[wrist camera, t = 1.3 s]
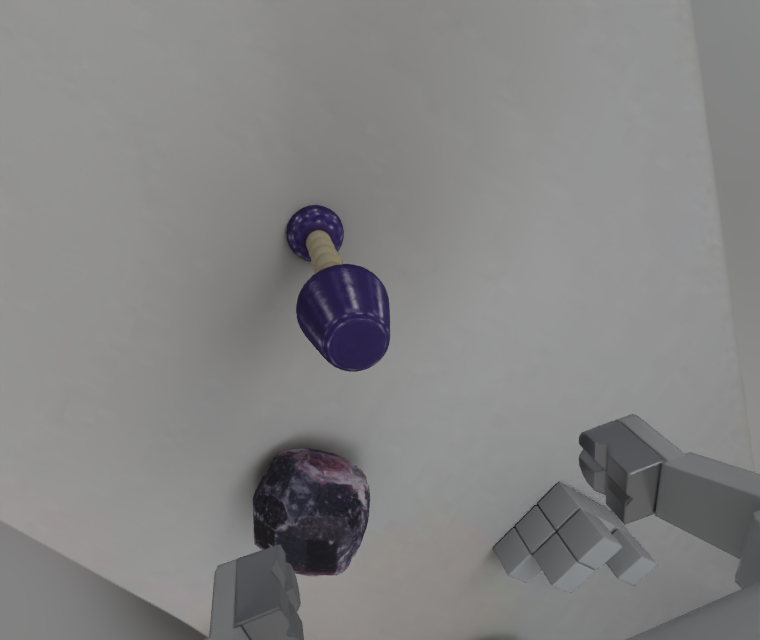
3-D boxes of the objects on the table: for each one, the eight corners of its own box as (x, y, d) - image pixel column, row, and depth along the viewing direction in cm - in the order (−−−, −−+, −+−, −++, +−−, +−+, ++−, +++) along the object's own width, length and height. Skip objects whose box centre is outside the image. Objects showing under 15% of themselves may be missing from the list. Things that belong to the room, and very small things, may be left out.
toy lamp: (347, 261, 35) (414, 375, 21) (288, 273, 34) (314, 399, 20) (338, 200, 33) (406, 279, 18) (275, 210, 32) (292, 302, 18)
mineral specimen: (214, 504, 40) (245, 572, 31) (295, 412, 43) (342, 452, 34) (288, 552, 44) (332, 623, 36) (356, 466, 47) (411, 513, 39)
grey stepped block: (492, 547, 56) (526, 610, 49) (559, 481, 54) (604, 537, 47) (548, 570, 61) (586, 630, 54) (611, 510, 59) (659, 565, 52)
